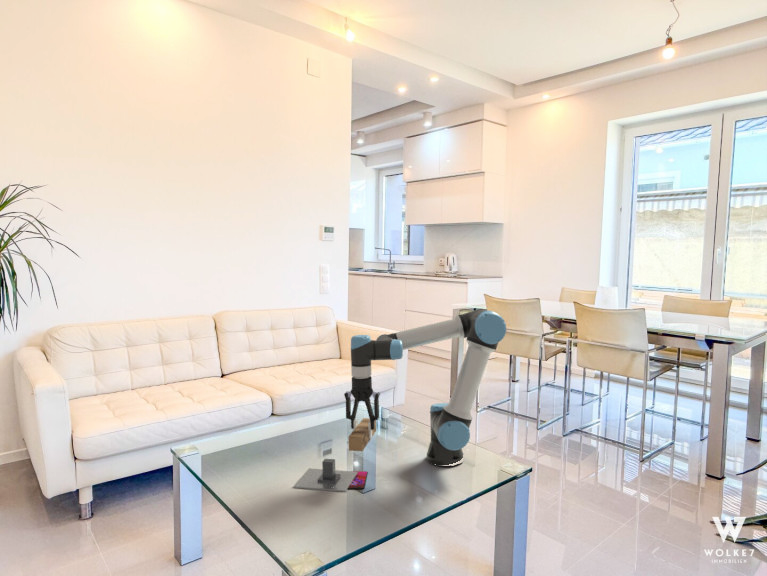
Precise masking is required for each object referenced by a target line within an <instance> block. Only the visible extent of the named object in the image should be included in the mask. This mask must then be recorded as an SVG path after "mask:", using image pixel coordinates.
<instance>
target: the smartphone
mask: <svg viewBox="0 0 767 576" xmlns="http://www.w3.org/2000/svg"><path fill="white" fill-rule="evenodd" d="M352 471H353V470H352ZM353 472H358V473H357V475H356V476H355V478H354V479H353V481H352V482H351V484H350V486H349V487H348V490H357V491H358V490H359V491H360V490H361V491H363V490H365V488H366V483H367V480H368V479H367V478H368V474H369V473H368V471H365V470H364V471H363V470H362V471H360V470H357V471H356V470H355V471H353ZM348 490H347V491H348Z"/></svg>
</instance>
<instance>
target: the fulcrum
mask: <svg viewBox="0 0 767 576" xmlns="http://www.w3.org/2000/svg"><path fill="white" fill-rule="evenodd" d="M321 463H322V468H308V469H307V470H306V471H305V472H304V473H303V474H302V476H301V477H299V479H298V480H297V481H296V482H295V483H294V484H293V486H292V487H293V488H294V489H305V490H314V491H315V490H317V491H329V492H341V493H342V492H343V493H347V492H348V487H349V486H350V484H351V482H352V481H353V479H354V478H355V476H356V475H357V473H358V472H353V470H351V471H350V470H338V469H336V459H333V458H324V459H323V460H322V461H321Z"/></svg>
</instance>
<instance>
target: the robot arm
mask: <svg viewBox="0 0 767 576" xmlns="http://www.w3.org/2000/svg"><path fill="white" fill-rule="evenodd" d="M506 334H507V324H506V321H505V320H504V318H503V317H502V316H501V315H500V314H498V313H497V312H495V311H492V310H488V309H484V308H479V309H475V310H472V311H469V312H465V313H462V314H458V315H456V316H455V318H452V319H447V320H443V321H439V322H436V323H430V324H427V325H422V326H417V327H415V328H411V329H406V330H402V331H397V332H392V333H390V334H386V333H384V334H380V335H378V337H377V338H376V339H375V340H373V339H371V335H369V334H357V335H353V336H352V337H350V362H351V363H350V364H351V367H350V368H351V370H350V371H351V389H350V391H346V392H344V394H343V396H344V398H345V418H346V419H348V420H350V427H351V429H352V430H354V429H355V428H356V427H357V426H358V418H356V416H357V413H358V409H359V403H360V402H364V404H365V406H366V407H365V408H366V409H367V414H368V418H370V420H369V421H368V429H369V439H370V440H371V439H372V438H373V436H372V430H373V429H374V428H375V422H374V421H375V420H376V421H377V420H379V418H380V403H379V402H380V401H379V400H380V399H379V398H380V397H381V396H380V395H381V393H380V392H375V391H374V390H373V382H372V381H373V380H372V361H390V360H391V361H395V360H396V361H397V360H401V359H402V358H403V356H404V355H403V354H404V353H403V352H404V350H409V349H413V348H417V347H421V346H425V345H426V346H427V345H429V344H435V343H438V342H439V343H440V342H442V341H445V340H446V341H448V340H451V339H455V338H461V339H466V343H467V345H468V347H467V348H466V349H467V350H466V352H465V354H464V358H463V362H462V364H461V367H460V370H459V373H458V375H457V378H456V382H455V384H454V386H453V387H454V388H453V391H452V393H451V397H450V399H449V402H447V403H446V402H445V403H444V402H441V403H435V404H431V406H430V408H429V413H430V442H429V446H428V449H427V452H426V461H427V463H429V464H431V463H432V464H431V465H433V464H436V465H449V464H453V463H456V462H458V461H460V460H461V459H462V458H463V455H464V452H463V449H464V448H465V447H466V446H467V444H468V443H469V442H470V439H471V431H470V427H471V424H472V420H473V416H472V414H471V411H472V408H473V405H474V403H475V399H476V396H477V394H478V390H479V387H480V384H481V382H482V379H483V376H484V374H485V370H486V367H487V364H488V362H489V359H490V355H491V354H492V353H493V352H495V351H496V350H497V348H498V345H499V342H501V341H502V340H503V339H504V337H506ZM351 397H353V398H354V401H353V407H352V405H351V402H352V400H351V399H352V398H351ZM371 397H372V398H373V406H372V404H371ZM373 408H374V409H373ZM373 410H374V411H373ZM436 465H435V466H436Z"/></svg>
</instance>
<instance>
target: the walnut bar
mask: <svg viewBox="0 0 767 576" xmlns="http://www.w3.org/2000/svg"><path fill="white" fill-rule="evenodd" d="M369 420H370V418H369V417H368V418H367V417H366V418H365V417H363V418H362V419H361V420H360V422H359V423H357V425H358V426H357V427H356V428H355V429H353V430H352V432H351V433H350V434H349V436H348V451H351V452H363V451H364V450H365V448H366V447H367V445H368V443H369V442H370V441H371V439H369V429H368V421H369ZM374 422H375V428H374V429H373V430H372V437H373V436H374V435H375V433H376V432H377V420H375V421H374Z"/></svg>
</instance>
